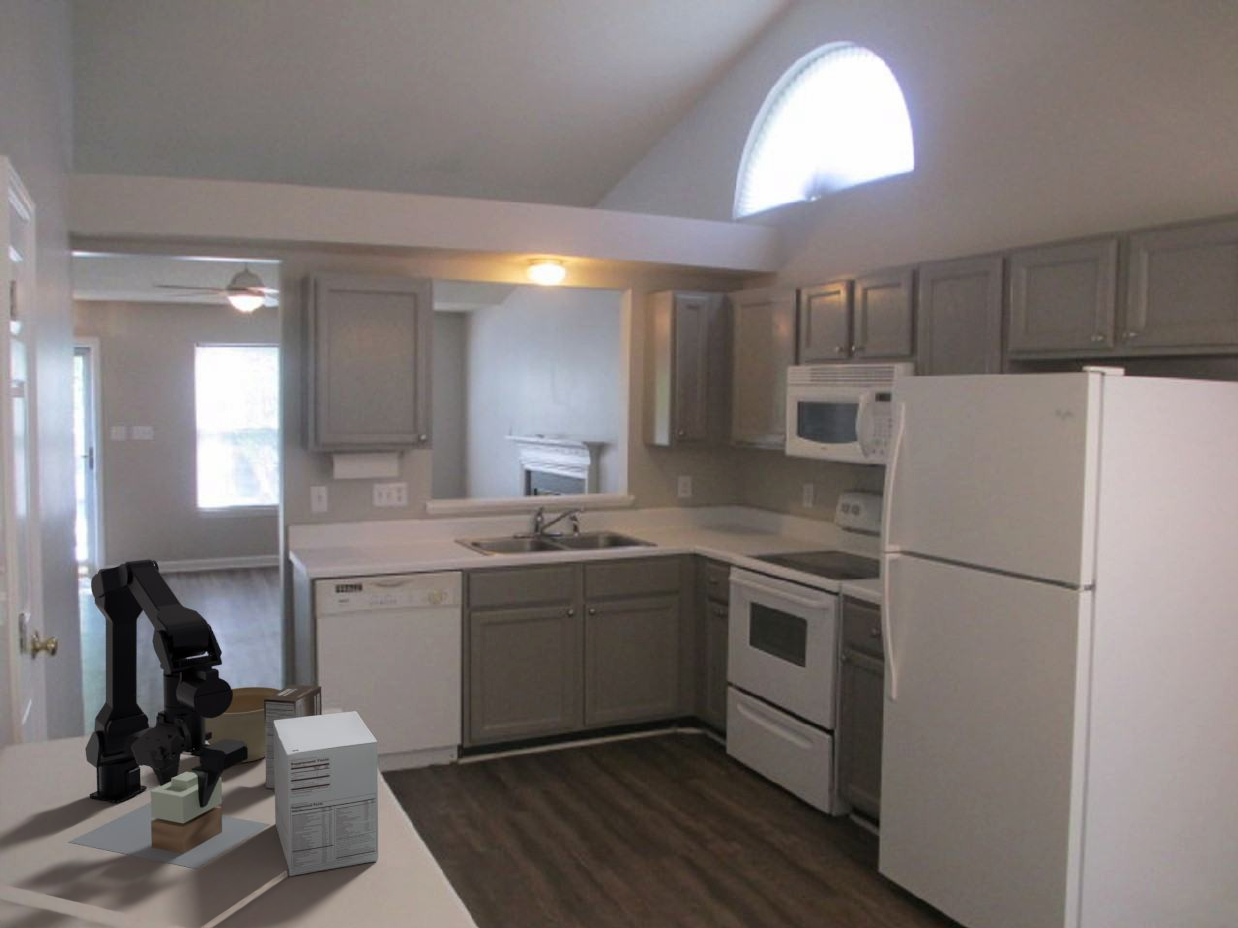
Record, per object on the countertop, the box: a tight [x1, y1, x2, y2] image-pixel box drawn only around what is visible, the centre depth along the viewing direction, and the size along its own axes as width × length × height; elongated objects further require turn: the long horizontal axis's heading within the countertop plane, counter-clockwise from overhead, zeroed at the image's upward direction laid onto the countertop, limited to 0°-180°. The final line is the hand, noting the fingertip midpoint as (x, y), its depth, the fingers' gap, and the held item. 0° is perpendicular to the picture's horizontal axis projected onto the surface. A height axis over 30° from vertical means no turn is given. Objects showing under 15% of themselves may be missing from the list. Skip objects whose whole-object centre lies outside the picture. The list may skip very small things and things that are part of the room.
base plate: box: [68, 801, 271, 870], centre depth 157 cm, size 24×16×1 cm, turn 70°
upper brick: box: [150, 771, 223, 823], centre depth 154 cm, size 8×6×5 cm
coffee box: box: [264, 684, 323, 790], centre depth 181 cm, size 9×6×16 cm
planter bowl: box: [205, 686, 281, 763], centre depth 194 cm, size 16×16×11 cm
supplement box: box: [273, 710, 379, 877], centre depth 155 cm, size 17×13×18 cm
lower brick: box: [151, 805, 223, 854], centre depth 155 cm, size 8×6×5 cm
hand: (186, 803), depth 154 cm, fingers closed on upper brick, 6 cm apart
